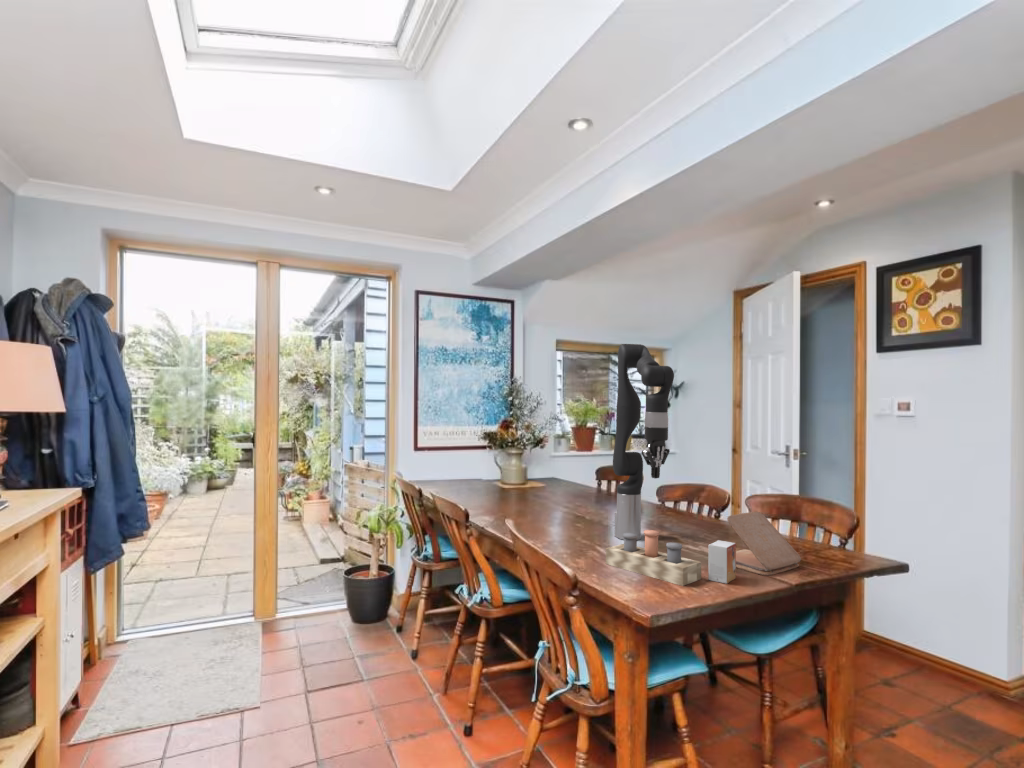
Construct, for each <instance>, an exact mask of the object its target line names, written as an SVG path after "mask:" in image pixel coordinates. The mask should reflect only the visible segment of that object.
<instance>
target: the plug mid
mask: <svg viewBox="0 0 1024 768" xmlns="http://www.w3.org/2000/svg"><path fill="white" fill-rule="evenodd" d="M643 535H644V548H645V556H648V557H652V558H655V557H658V552H659V536H660V531H658V530H653V529H645V530H643Z"/></svg>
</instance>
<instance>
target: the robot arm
mask: <svg viewBox="0 0 1024 768" xmlns="http://www.w3.org/2000/svg"><path fill="white" fill-rule="evenodd" d="M628 369H636V370H637V372H638V374H639V375H640V379H641V383H642V384H643V385H644V386H645V387H654V388H657V387H659V388H660V390H659V391H658V392H656V393H650V394H648V395H646V399H645V416H644V417H645V418H644V440H645V441H647V442H646V446H645V447H646V448H645V449H643V450H641V453H640V452H638V451H626V450H627V446H628V445H627V444H628V441H629V439H630V437H631V435H632V434H633V432H634V431H635V429H636V428H637V426H638V424H639V423H640V420H641V412H642V409H641V408H642V402H641V400H640V399H641V398H640V396H639V395H638V393H637V391H636V390H635V388H634V387H633V384H632V383H631V380H630V378H629V377H630V376H629V372H628ZM674 378H675V372H674V369H673V368H672V367H671V366H669V365H660V364H659V363H658V362H657V361H656V360H655V359H653V357H652V354H651V352H650V351H649V349H648V348H647V347H646V346H645V345H643V344H637V343H621V344H620V345H619V347H618V350H617V397H616V398H617V399H616V412H615V413H616V418H615V419H616V421H615V439H614V447H613V454H612V456H613V457H612V469H613V474H615V475H616V476H618V477H624V476H625V477H626V476H628V479H627V480H625V481H624V482H622V483H620V484H618V485H617V486H616V511H614V537H616V538H617V539H620V540H623V541H624V537H623V534H624V533H634V534H637V535H638V538H637V541H639V540H641V538H642V523H641V522H642V513H641V512H642V488H643V475H644V461H645V463H646V465H647V466H650V469H651V470H650V475H651V476H650V478H652V479H660V476H661V475H660V474H661V467H662V465H665V462H666V460H667V458H668V456H669V454H670V448H667V447H666V441H668V439H669V415H668V412H669V411H668V410H669V409H668V408H669V406H668V404H669V398H670V396H669V395H670V392H671V390H672V386H673V383H674ZM642 456H643V457H642ZM643 459H644V460H643Z"/></svg>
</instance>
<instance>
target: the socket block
mask: <svg viewBox="0 0 1024 768" xmlns="http://www.w3.org/2000/svg"><path fill="white" fill-rule="evenodd" d="M605 564H606V565H608V566H611V567H615V568H618V569H622V570H625V571H629V572H632V573H636V574H640V575H643V576H646V577H649V578H654V579H658V580H661V581H665V582H666V583H671V584H674V585H678V586H682V587H684V586H686V585H689V584H692V583H694V582H697V581H700V580H702V562H701V561H699V560H695V559H694V560H693V559H690V558H686V557H683V556H681V563H678V564H675V563H671V562H667V552H662V551H658V557H655V558H652V557H648V556H645V547H640V546H637V551H636V552H628V551H624V543H621V544H617V545H613V546H609V547H605Z"/></svg>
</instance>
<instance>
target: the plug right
mask: <svg viewBox="0 0 1024 768" xmlns="http://www.w3.org/2000/svg"><path fill="white" fill-rule="evenodd" d="M665 547H666V550H667V552H666V554H667V562H671V563H675V564H678V563H681V557H682V548H683V544H682V543H679V542H666V545H665Z"/></svg>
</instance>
